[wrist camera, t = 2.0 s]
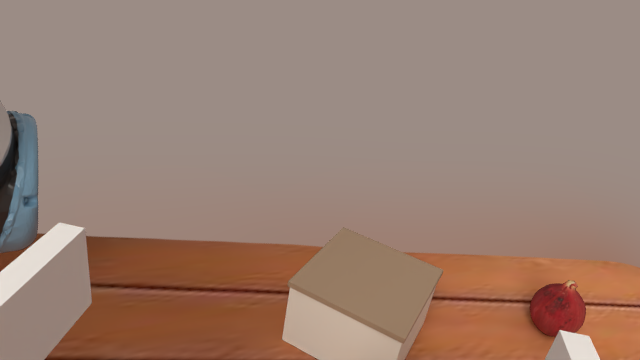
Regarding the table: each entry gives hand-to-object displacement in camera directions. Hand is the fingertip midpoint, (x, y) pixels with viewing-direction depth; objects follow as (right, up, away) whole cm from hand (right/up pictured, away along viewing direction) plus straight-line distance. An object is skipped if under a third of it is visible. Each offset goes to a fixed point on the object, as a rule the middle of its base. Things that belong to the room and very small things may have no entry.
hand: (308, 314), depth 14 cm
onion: (+28, -15, +46) cm, 55 cm away
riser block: (+4, -13, +41) cm, 44 cm away
